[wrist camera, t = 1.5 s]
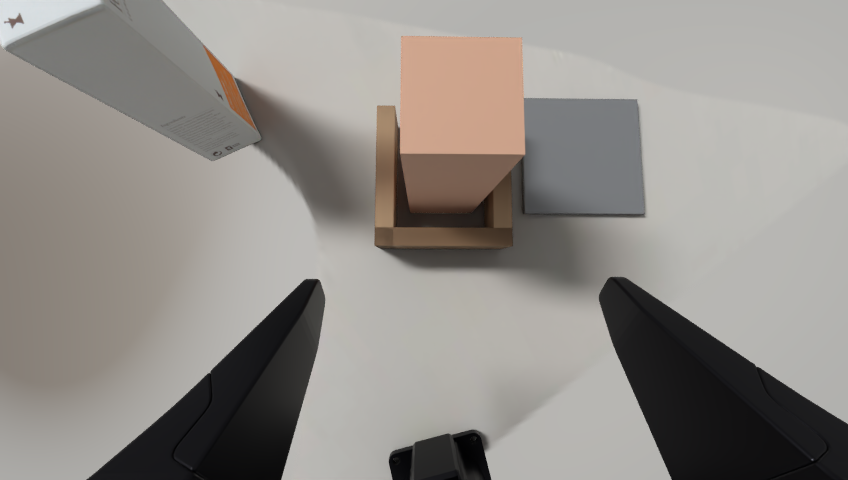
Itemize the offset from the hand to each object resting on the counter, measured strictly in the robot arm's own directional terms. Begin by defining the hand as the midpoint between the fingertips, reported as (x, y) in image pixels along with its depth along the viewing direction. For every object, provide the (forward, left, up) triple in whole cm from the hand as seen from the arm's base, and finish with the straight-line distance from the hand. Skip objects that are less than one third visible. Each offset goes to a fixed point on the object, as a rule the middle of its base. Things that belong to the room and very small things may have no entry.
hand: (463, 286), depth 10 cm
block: (+7, -2, -13) cm, 15 cm away
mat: (+6, -13, -13) cm, 19 cm away
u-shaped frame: (+7, -2, -13) cm, 15 cm away
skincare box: (+16, +13, -13) cm, 25 cm away
